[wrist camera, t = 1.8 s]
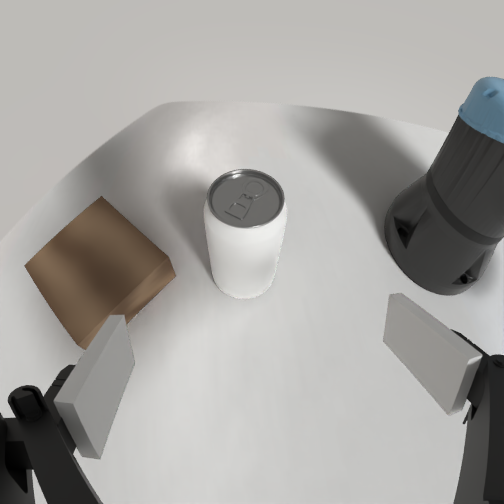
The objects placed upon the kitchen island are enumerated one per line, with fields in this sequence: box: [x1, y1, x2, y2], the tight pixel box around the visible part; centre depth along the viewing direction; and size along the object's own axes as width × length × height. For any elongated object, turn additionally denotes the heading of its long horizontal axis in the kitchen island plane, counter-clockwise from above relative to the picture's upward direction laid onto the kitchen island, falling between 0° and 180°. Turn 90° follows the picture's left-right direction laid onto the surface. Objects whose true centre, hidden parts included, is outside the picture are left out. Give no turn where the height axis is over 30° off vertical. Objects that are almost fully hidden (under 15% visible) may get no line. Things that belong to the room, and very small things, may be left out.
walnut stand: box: [25, 196, 176, 350], centre depth 30 cm, size 12×12×4 cm
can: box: [204, 169, 287, 299], centre depth 28 cm, size 6×6×12 cm
